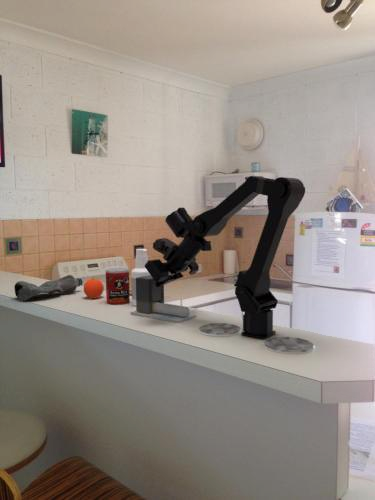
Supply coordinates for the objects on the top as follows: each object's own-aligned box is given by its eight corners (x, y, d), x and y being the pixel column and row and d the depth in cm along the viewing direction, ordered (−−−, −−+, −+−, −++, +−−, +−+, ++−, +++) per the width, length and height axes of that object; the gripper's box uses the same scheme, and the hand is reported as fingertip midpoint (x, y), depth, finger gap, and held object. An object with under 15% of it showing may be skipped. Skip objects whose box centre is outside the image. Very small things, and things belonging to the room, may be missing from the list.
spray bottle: (141, 301, 155) (140, 247, 153) (157, 303, 151) (156, 248, 149) (127, 305, 149) (126, 249, 147) (143, 307, 145) (142, 250, 143)
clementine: (102, 294, 166) (101, 275, 166) (110, 298, 161) (109, 277, 160) (80, 297, 162) (80, 277, 161) (88, 300, 156) (87, 280, 156)
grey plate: (196, 317, 133) (196, 304, 132) (179, 322, 126) (179, 309, 126) (148, 309, 143) (148, 297, 143) (130, 314, 137) (130, 302, 136)
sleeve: (164, 309, 139) (163, 276, 138) (149, 313, 133) (148, 279, 132) (151, 307, 142) (150, 274, 141) (136, 311, 136) (135, 277, 135)
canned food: (107, 305, 149) (106, 271, 148) (105, 300, 156) (104, 268, 155) (131, 304, 151) (130, 270, 150) (127, 299, 158) (127, 267, 157)
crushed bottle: (24, 304, 152) (91, 292, 169) (22, 282, 152) (89, 272, 168) (9, 301, 162) (74, 290, 179) (7, 281, 162) (72, 272, 178)
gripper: (190, 227, 138) (162, 261, 145) (149, 230, 123) (120, 268, 130) (212, 255, 134) (182, 289, 141) (173, 262, 119) (141, 299, 126)
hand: (157, 285), depth 135 cm, fingers closed
